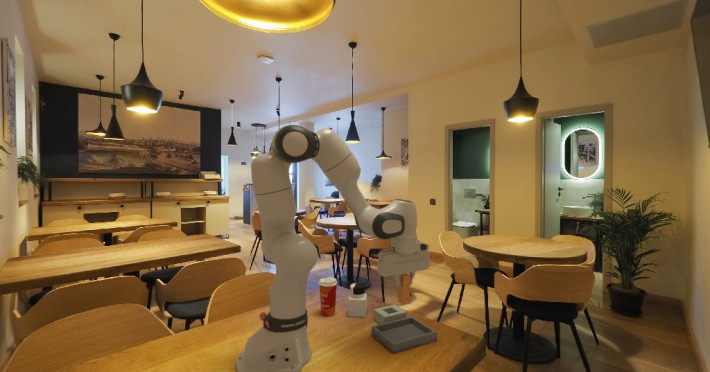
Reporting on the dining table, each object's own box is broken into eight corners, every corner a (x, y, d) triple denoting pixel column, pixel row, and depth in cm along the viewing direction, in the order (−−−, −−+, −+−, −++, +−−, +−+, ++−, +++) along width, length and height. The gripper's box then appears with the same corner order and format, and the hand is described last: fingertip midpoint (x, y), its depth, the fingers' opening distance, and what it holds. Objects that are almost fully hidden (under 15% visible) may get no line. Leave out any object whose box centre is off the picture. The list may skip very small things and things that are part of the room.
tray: (393, 353, 102) (393, 344, 102) (371, 334, 115) (371, 326, 115) (437, 340, 110) (437, 332, 110) (411, 323, 123) (412, 316, 123)
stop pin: (403, 304, 110) (403, 276, 110) (398, 301, 113) (398, 273, 112) (410, 303, 112) (410, 274, 111) (405, 300, 114) (405, 272, 114)
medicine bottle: (366, 309, 136) (366, 281, 135) (365, 317, 129) (365, 287, 128) (349, 309, 136) (349, 281, 136) (347, 316, 129) (347, 287, 129)
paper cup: (316, 311, 134) (316, 278, 133) (333, 308, 137) (333, 275, 137) (322, 319, 127) (322, 284, 126) (340, 315, 130) (340, 281, 129)
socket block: (384, 327, 120) (384, 317, 119) (373, 319, 127) (373, 309, 127) (406, 322, 124) (406, 312, 124) (394, 314, 131) (394, 304, 131)
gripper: (383, 251, 104) (383, 293, 104) (432, 244, 113) (432, 283, 114) (373, 247, 109) (373, 287, 110) (421, 241, 119) (421, 278, 119)
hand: (404, 285), depth 112 cm, fingers closed on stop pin, 3 cm apart
